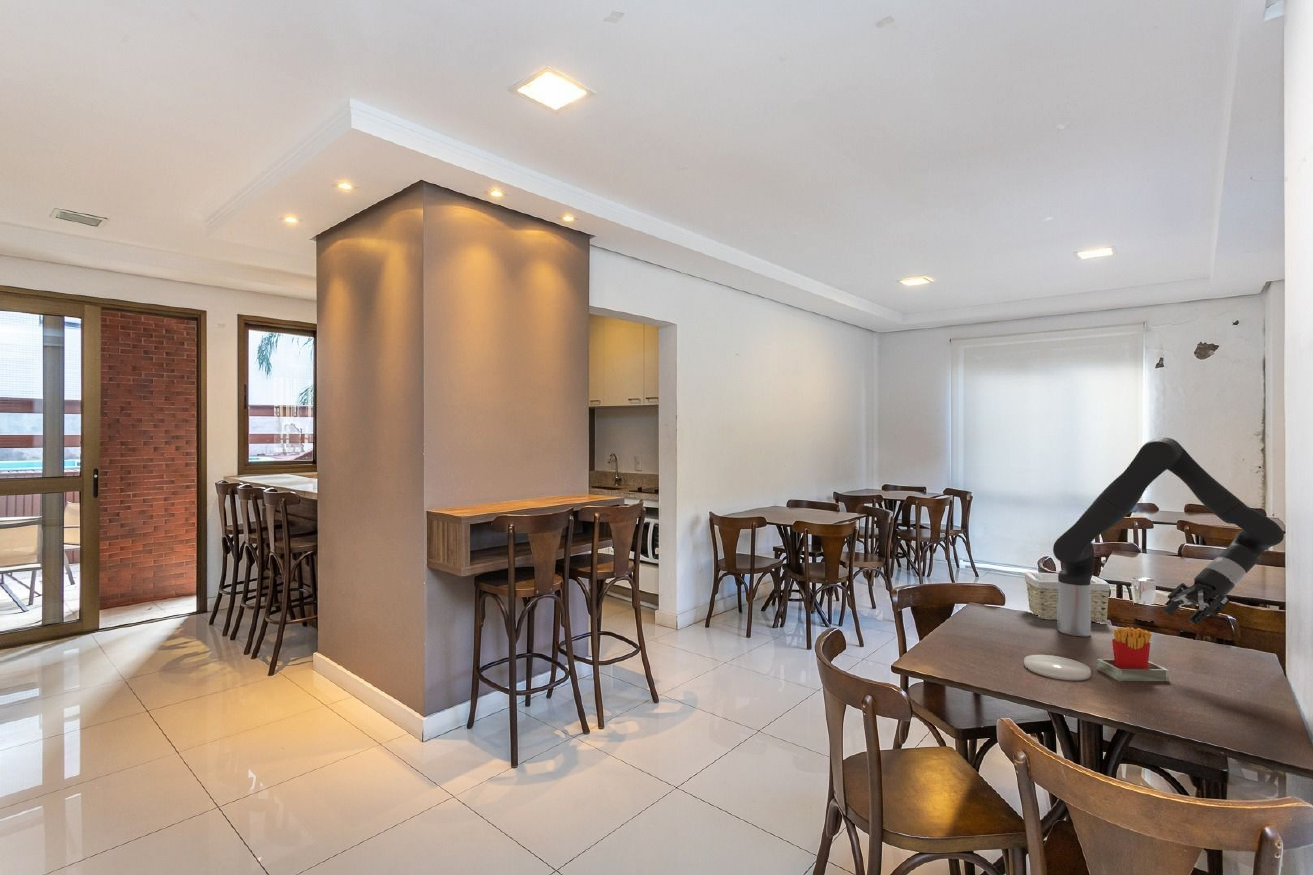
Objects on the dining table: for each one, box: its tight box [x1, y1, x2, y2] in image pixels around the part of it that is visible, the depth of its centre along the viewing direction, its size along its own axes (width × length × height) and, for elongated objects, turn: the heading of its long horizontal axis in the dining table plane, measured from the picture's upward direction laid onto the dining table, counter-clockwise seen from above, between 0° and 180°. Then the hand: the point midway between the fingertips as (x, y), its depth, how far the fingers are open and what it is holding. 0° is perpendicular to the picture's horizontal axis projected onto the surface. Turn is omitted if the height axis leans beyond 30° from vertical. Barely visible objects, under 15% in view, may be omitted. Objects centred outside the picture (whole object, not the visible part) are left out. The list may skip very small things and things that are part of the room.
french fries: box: [1111, 626, 1153, 669], centre depth 173 cm, size 9×4×13 cm, turn 82°
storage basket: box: [1024, 571, 1111, 623], centre depth 231 cm, size 24×16×15 cm
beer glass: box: [1130, 576, 1157, 605], centre depth 225 cm, size 7×7×15 cm
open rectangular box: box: [1096, 658, 1170, 682], centre depth 173 cm, size 9×14×3 cm, turn 89°
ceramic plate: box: [1023, 654, 1092, 681], centre depth 177 cm, size 16×16×2 cm
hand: (1178, 617), depth 173 cm, fingers open, 8 cm apart
